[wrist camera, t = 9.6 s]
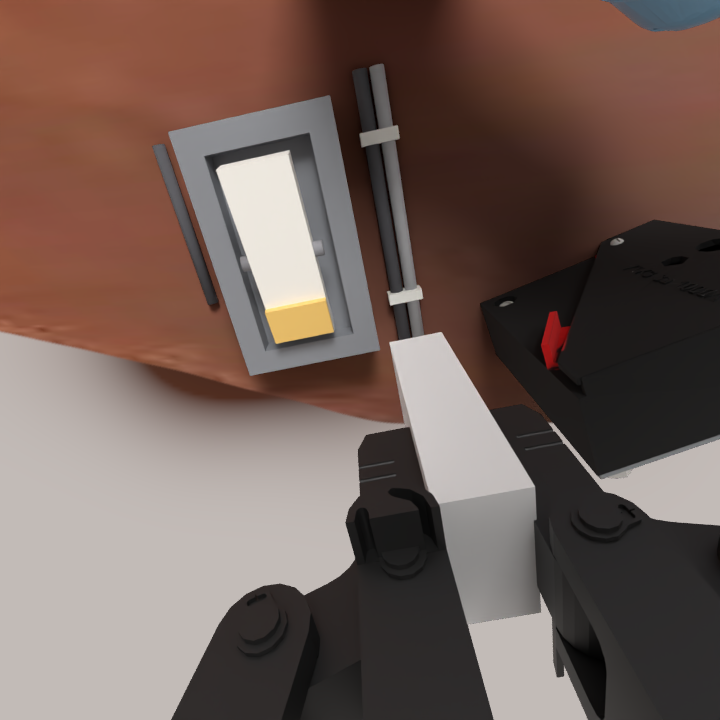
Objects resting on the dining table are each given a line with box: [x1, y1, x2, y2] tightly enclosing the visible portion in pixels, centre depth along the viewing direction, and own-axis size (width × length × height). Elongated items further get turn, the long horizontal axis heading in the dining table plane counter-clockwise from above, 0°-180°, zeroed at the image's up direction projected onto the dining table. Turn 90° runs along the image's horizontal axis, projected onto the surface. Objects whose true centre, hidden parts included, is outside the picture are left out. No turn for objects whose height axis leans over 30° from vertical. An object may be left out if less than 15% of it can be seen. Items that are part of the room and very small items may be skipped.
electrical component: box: [480, 220, 720, 479], centre depth 34 cm, size 18×10×20 cm, turn 113°
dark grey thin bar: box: [152, 144, 218, 305], centre depth 39 cm, size 14×1×1 cm, turn 11°
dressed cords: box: [352, 64, 424, 340], centre depth 39 cm, size 24×3×2 cm, turn 11°
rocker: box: [216, 150, 334, 344], centre depth 33 cm, size 14×6×2 cm, turn 11°
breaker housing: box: [168, 95, 380, 376], centre depth 38 cm, size 20×12×6 cm, turn 11°
